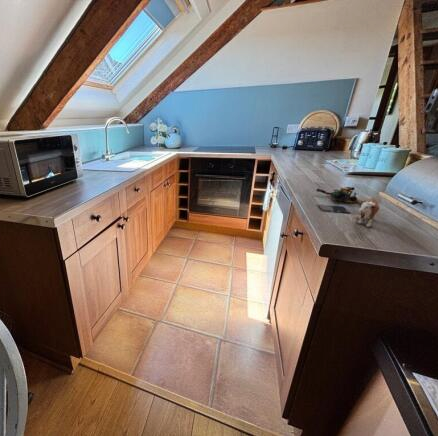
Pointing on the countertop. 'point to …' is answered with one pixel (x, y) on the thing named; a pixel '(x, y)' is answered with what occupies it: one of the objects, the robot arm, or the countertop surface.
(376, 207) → the bull figurine
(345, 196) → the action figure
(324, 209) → the slate coaster
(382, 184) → the countertop surface
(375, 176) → the countertop surface
